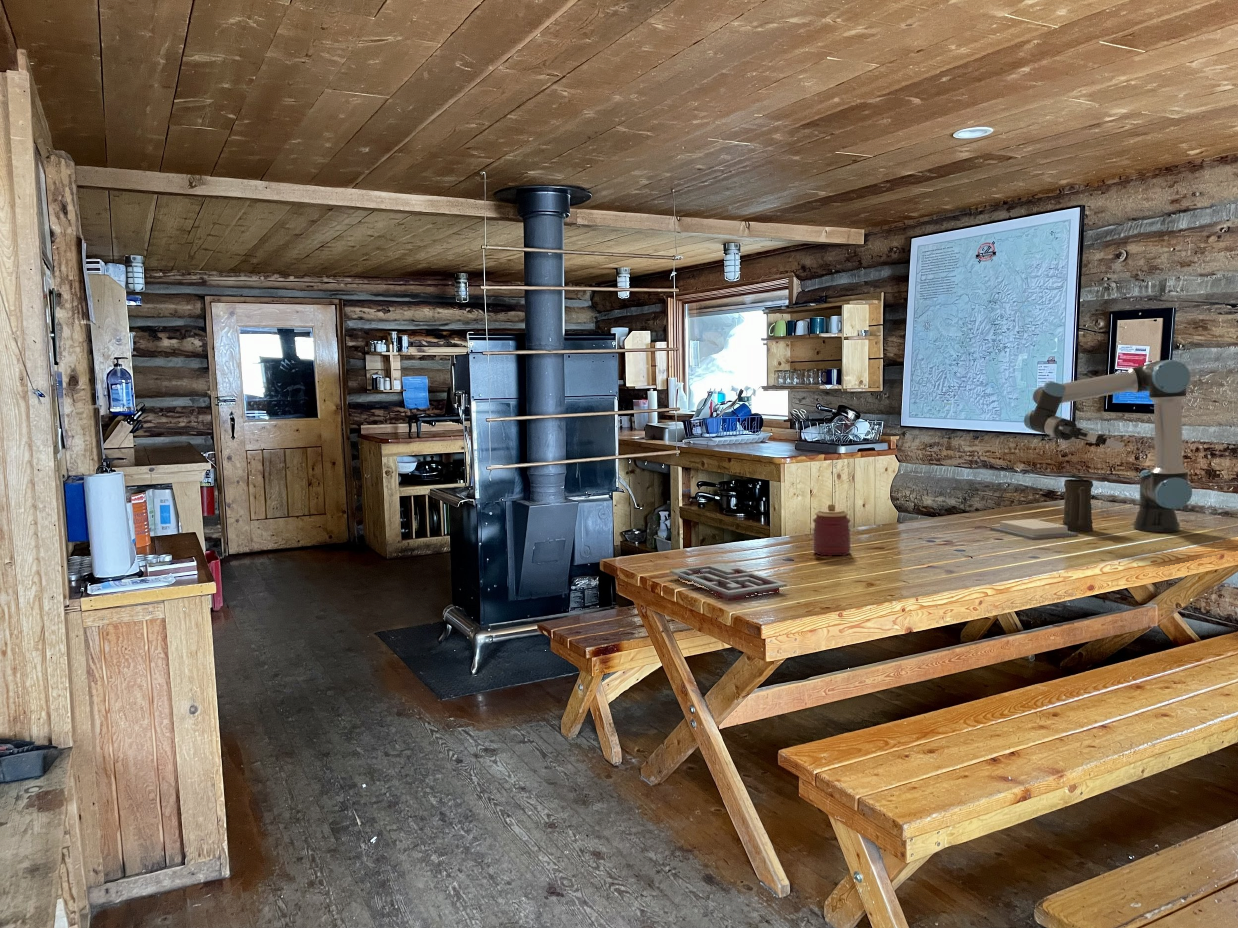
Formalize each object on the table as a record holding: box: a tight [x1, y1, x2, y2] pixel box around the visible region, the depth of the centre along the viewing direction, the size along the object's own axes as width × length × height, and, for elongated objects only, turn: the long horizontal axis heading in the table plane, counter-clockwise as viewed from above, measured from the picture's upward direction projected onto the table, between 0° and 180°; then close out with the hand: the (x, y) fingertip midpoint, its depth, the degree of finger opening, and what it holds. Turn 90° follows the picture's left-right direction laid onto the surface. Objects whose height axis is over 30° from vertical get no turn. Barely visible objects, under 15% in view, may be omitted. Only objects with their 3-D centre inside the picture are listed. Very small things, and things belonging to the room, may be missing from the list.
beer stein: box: [1062, 478, 1094, 533], centre depth 341 cm, size 15×11×20 cm
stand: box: [989, 518, 1079, 540], centre depth 341 cm, size 20×24×4 cm
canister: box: [812, 503, 852, 557], centre depth 312 cm, size 13×13×18 cm
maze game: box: [669, 562, 788, 601], centre depth 268 cm, size 35×20×3 cm, turn 25°
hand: (1109, 442), depth 308 cm, fingers open, 13 cm apart
